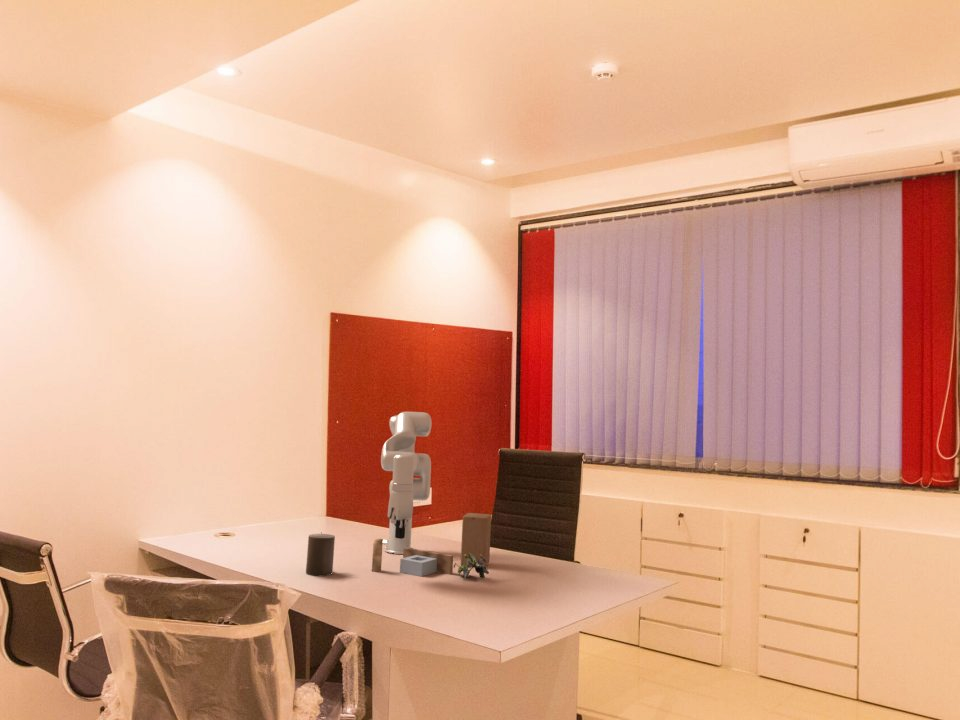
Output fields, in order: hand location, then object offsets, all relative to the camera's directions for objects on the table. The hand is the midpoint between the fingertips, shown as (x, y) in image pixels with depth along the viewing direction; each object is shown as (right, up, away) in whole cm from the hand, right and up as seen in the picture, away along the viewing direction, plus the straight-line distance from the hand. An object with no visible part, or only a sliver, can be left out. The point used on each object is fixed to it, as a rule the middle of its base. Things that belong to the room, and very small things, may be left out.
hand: (399, 537), depth 282 cm
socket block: (+6, -15, +10) cm, 19 cm away
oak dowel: (-10, -15, +9) cm, 20 cm away
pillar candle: (-30, -14, +2) cm, 33 cm away
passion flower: (+26, -16, +4) cm, 31 cm away
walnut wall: (+9, -16, +15) cm, 24 cm away
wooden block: (+27, -18, +28) cm, 43 cm away
